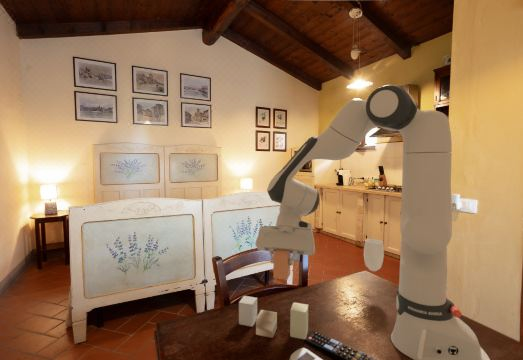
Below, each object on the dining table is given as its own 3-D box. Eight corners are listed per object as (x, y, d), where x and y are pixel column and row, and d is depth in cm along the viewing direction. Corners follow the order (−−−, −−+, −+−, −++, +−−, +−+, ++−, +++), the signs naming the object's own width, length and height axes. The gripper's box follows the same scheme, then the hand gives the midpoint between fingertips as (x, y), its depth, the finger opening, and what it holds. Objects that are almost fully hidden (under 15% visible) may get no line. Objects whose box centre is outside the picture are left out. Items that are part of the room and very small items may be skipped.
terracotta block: (290, 274, 91) (290, 250, 90) (287, 279, 87) (287, 255, 86) (277, 272, 92) (277, 249, 92) (273, 278, 88) (273, 253, 88)
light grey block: (257, 318, 88) (257, 297, 87) (252, 326, 83) (252, 304, 83) (244, 316, 89) (244, 295, 89) (238, 324, 85) (238, 302, 84)
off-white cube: (276, 328, 83) (276, 312, 83) (272, 338, 78) (272, 321, 78) (261, 325, 84) (261, 309, 84) (255, 334, 80) (255, 318, 79)
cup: (384, 293, 105) (386, 240, 104) (379, 300, 100) (381, 244, 98) (365, 287, 110) (367, 237, 108) (359, 294, 104) (361, 241, 103)
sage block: (308, 330, 82) (308, 304, 81) (305, 339, 77) (306, 312, 77) (293, 327, 83) (293, 302, 83) (290, 336, 79) (290, 309, 78)
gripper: (258, 220, 98) (249, 256, 90) (315, 224, 92) (311, 262, 83) (262, 230, 103) (253, 264, 94) (317, 234, 96) (313, 271, 88)
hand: (281, 263), depth 89 cm, fingers closed on terracotta block, 4 cm apart
